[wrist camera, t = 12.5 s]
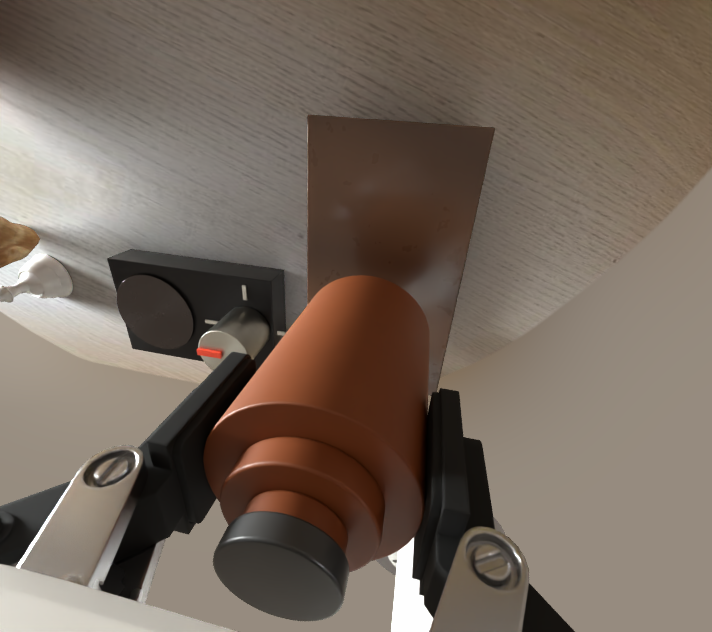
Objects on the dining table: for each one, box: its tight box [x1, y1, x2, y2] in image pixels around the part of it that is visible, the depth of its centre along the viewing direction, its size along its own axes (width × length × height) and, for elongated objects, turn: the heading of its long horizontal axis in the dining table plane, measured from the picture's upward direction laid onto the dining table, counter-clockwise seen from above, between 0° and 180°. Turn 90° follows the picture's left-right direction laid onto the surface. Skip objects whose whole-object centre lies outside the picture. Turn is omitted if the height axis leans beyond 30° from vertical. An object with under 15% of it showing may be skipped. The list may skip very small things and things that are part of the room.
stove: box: [107, 249, 287, 371], centre depth 35 cm, size 10×18×3 cm, turn 86°
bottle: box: [203, 275, 430, 621], centre depth 11 cm, size 6×6×10 cm
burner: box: [117, 274, 195, 349], centre depth 34 cm, size 8×8×1 cm
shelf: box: [307, 115, 495, 396], centre depth 25 cm, size 16×9×10 cm, turn 176°
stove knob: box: [197, 307, 270, 370], centre depth 31 cm, size 4×4×5 cm
